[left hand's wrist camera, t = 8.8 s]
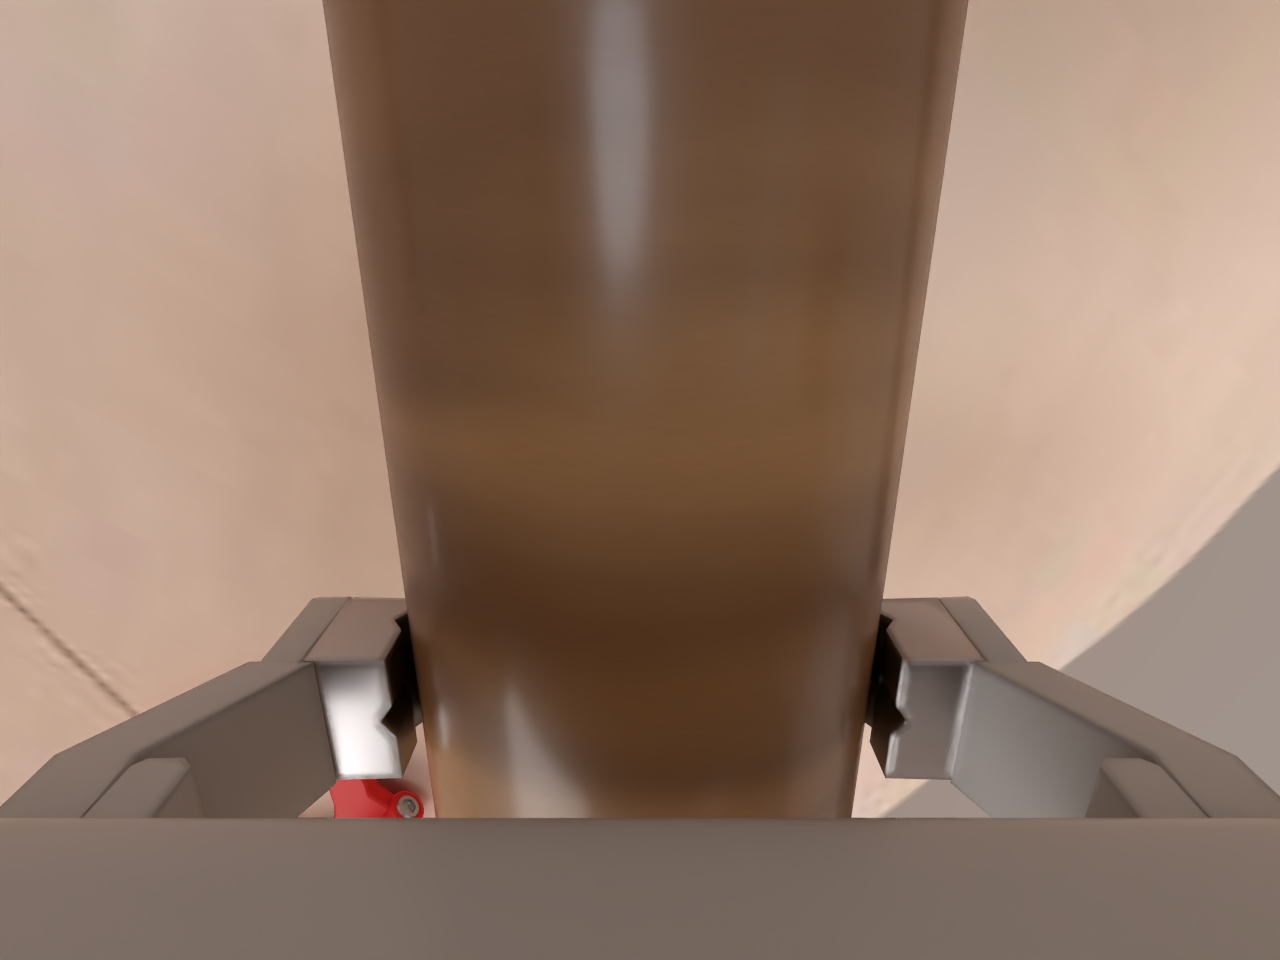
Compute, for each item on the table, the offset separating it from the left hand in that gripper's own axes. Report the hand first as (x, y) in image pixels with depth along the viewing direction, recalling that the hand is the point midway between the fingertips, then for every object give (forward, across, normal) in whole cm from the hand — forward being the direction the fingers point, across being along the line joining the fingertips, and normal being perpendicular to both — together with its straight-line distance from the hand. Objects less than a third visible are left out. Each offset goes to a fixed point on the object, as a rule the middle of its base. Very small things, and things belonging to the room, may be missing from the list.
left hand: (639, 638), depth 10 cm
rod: (+3, 0, -8) cm, 9 cm away
